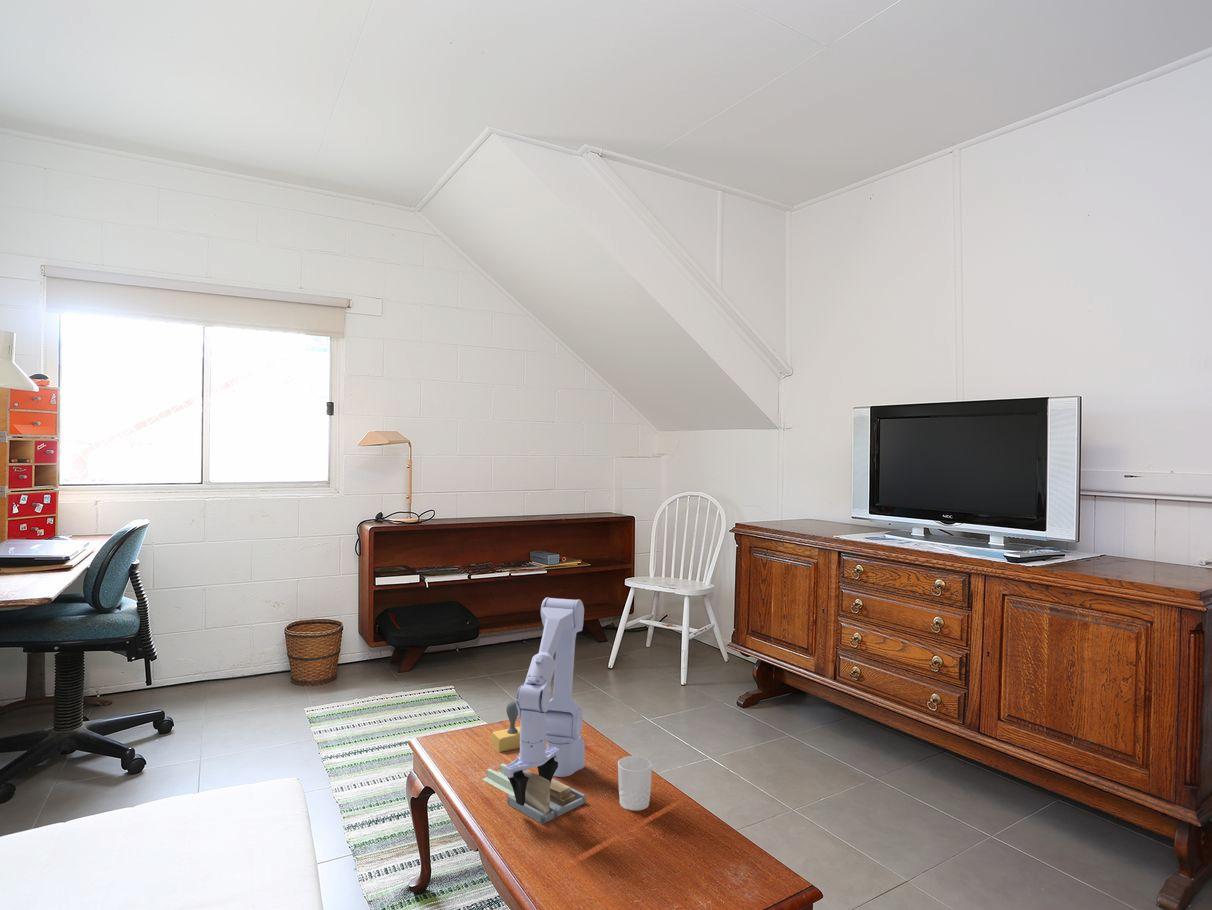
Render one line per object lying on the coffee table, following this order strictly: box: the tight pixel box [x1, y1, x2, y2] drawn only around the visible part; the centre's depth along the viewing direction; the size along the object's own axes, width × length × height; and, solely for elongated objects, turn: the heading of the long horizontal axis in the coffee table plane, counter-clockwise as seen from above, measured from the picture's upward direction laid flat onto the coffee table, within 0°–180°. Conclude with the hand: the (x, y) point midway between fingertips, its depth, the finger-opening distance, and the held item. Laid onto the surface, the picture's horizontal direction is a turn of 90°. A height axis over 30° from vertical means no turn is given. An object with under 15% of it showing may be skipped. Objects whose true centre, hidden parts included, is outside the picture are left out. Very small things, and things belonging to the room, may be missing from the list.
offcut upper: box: [550, 780, 571, 798], centre depth 165 cm, size 3×6×1 cm, turn 52°
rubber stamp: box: [491, 701, 520, 753], centre depth 196 cm, size 10×6×12 cm, turn 121°
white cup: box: [617, 755, 653, 811], centre depth 163 cm, size 8×8×10 cm
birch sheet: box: [523, 769, 550, 815], centre depth 159 cm, size 2×10×8 cm, turn 46°
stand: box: [481, 763, 515, 796], centre depth 172 cm, size 8×12×3 cm, turn 46°
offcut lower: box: [550, 793, 575, 807], centre depth 165 cm, size 4×8×1 cm, turn 46°
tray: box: [507, 777, 586, 825], centre depth 162 cm, size 13×12×3 cm
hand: (532, 798), depth 159 cm, fingers open, 6 cm apart
